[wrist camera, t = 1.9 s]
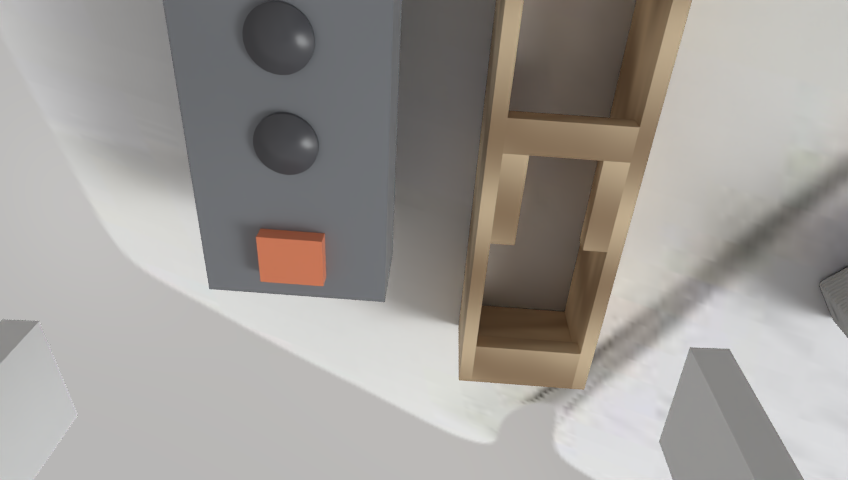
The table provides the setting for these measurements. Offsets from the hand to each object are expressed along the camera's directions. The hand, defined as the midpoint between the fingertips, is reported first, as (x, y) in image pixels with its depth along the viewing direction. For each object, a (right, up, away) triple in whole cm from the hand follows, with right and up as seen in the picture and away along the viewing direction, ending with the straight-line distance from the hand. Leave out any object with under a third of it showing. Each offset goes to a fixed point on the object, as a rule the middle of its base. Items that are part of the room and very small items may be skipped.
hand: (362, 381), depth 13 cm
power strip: (-3, +11, +12) cm, 17 cm away
